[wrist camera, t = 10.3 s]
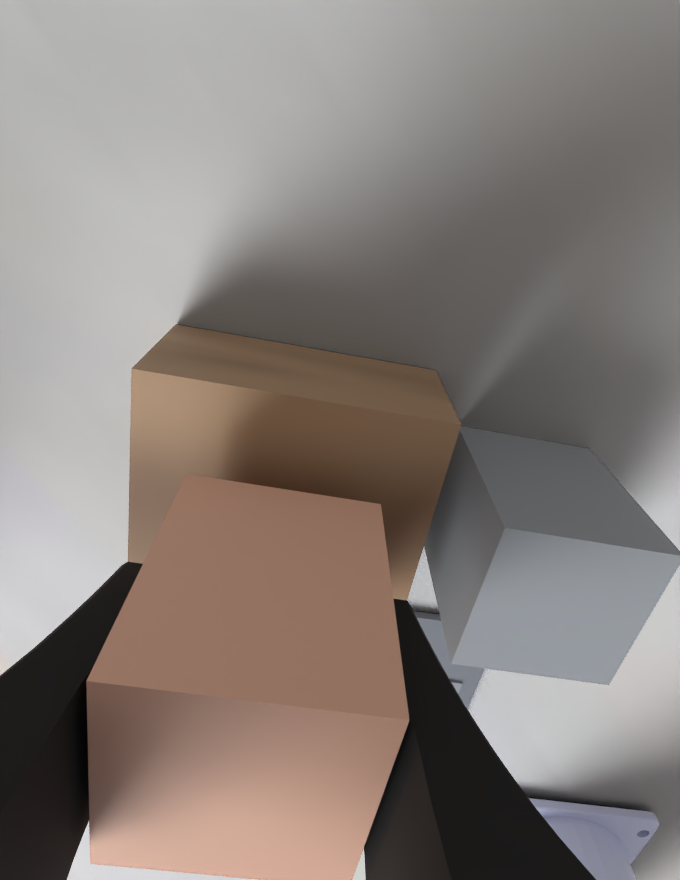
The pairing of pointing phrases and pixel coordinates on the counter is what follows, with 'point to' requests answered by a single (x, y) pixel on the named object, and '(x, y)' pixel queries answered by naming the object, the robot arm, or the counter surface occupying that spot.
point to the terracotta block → (248, 690)
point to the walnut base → (289, 432)
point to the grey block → (542, 559)
